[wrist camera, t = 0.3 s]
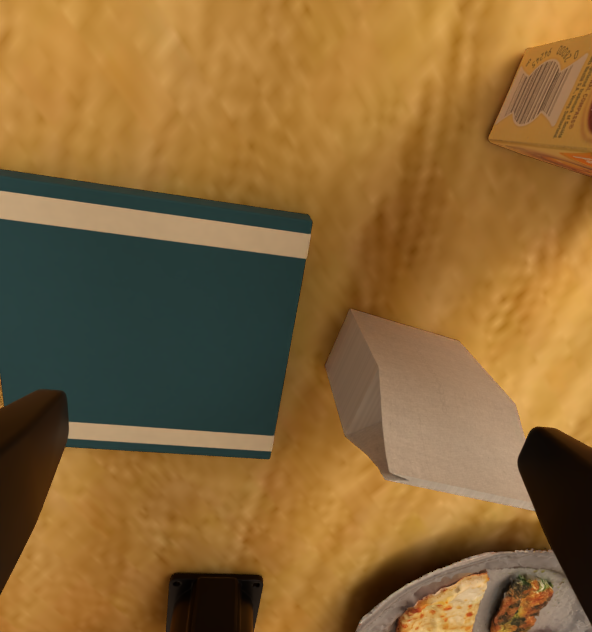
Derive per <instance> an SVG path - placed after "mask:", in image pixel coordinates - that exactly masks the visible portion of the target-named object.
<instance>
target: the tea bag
mask: <svg viewBox="0 0 592 632" xmlns="http://www.w3.org/2000/svg"><path fill="white" fill-rule="evenodd" d="M325 368H326V371H327V375H328V378H329V382H330V385H331V389H332V392H333V396H334V399H335V403H336V406H337V410H338V413H339V417H340V420H341V424H342V427H343V431H344V435H345V437H347V438H348V439H349V440H350V441H351V442H352V443H354V444H355V445H356V446H357V447H358V448H360V449H361V450H362V451H363V452H364V453H365V454H367V455H368V457H369V458H370V459H371V460H372V461H373V462H374V463H375V465H376V466H377V467H378V468H379V470H380V472H381V474H382V475H383V477H384V479H385V480H388V481H393V482H398V483H403V484H408V485H412V486H417V487H422V488H427V489H432V490H436V491H441V492H446V493H451V494H456V495H460V496H465V497H470V498H475V499H480V500H484V501H489V502H494V503H499V504H504V505H509V506H513V507H518V508H523V509H528V510H533V511H535V509H534V507H533V504H532V502H531V499H530V497H529V495H528V492H527V490H526V487H525V485H524V482H523V480H522V478H521V475H520V473H519V470H518V466H517V460H518V456H519V454H520V451H521V449H522V447H523V445H524V443H525V441H526V440H525V436H524V433H523V429H522V426H521V422H520V418H519V415H518V411H517V408H516V404H515V403H514V402H513V401H512V400H511V399H510V398H509V396H508V395H507V394H506V393H505V392H504V391H503V390H502V389H501V387H500V386H499V385H498V384H497V383H496V382H495V381H494V380H493V378H492V377H491V376H490V375H489V374H488V373H487V372H486V371H485V370H484V368H483V367H482V366H481V365H480V364H479V363H478V362H477V361H476V359H475V358H474V357H473V356H472V355H471V354H470V353H469V352H468V350H467V349H466V348H465V347H464V346H463V345H462V344H461V343H460V341H458V340H454V339H451V338H448V337H444V336H441V335H437V334H434V333H431V332H427V331H424V330H421V329H417V328H414V327H411V326H407V325H404V324H401V323H397V322H394V321H390V320H387V319H384V318H380V317H377V316H374V315H370V314H367V313H364V312H360V311H357V310H354V309H349V311H348V314H347V316H346V318H345V321H344V323H343V325H342V327H341V330H340V332H339V334H338V337H337V339H336V341H335V344H334V346H333V348H332V350H331V353H330V355H329V357H328V360H327V362H326V364H325Z"/></svg>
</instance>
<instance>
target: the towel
mask: <svg viewBox="0 0 592 632" xmlns="http://www.w3.org/2000/svg"><path fill="white" fill-rule="evenodd" d="M312 223H313V222H312V220H311V218H310V216H309V215H308V214H301V213H294V212H287V211H280V210H274V209H267V208H260V207H253V206H247V205H240V204H233V203H226V202H219V201H213V200H206V199H199V198H192V197H185V196H179V195H172V194H165V193H158V192H151V191H145V190H138V189H131V188H124V187H117V186H111V185H104V184H97V183H90V182H84V181H77V180H70V179H63V178H56V177H50V176H43V175H36V174H29V173H22V172H16V171H9V170H2V169H0V377H1V385H2V393H3V400H4V407H5V406H7V405H9V404H11V403H12V402H14V401H16V400H18V399H20V398H22V397H24V396H26V395H28V394H30V393H32V392H34V391H36V390H39V389H51V390H62V391H64V392H65V393H66V396H67V403H68V419H69V434H68V439H67V443H66V446H65V447H76V448H93V449H109V450H125V451H142V452H158V453H174V454H191V455H207V456H223V457H240V458H256V459H270V456H271V451H272V447H273V442H274V436H275V435H274V434H275V428H276V423H277V417H278V412H279V406H280V401H281V395H282V389H283V384H284V378H285V373H286V367H287V362H288V356H289V351H290V345H291V340H292V334H293V329H294V323H295V317H296V312H297V306H298V301H299V295H300V290H301V284H302V279H303V273H304V268H305V262H306V259H307V255H308V249H309V244H310V238H311V229H312Z"/></svg>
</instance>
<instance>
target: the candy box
mask: <svg viewBox="0 0 592 632" xmlns="http://www.w3.org/2000/svg"><path fill="white" fill-rule="evenodd" d="M488 140H489V142H491V143H493V144H496V145H499V146H501V147H504V148H507V149H509V150H512V151H515V152H518V153H520V154H523V155H526V156H529V157H532V158H535V159H538V160H541V161H544V162H547V163H550V164H553V165H556V166H559V167H562V168H566V169H569V170H572V171H575V172H578V173H581V174H584V175H587V176H590V177H592V34H587V35H584V36H580V37H575V38H571V39H567V40H562V41H558V42H554V43H550V44H545V45H541V46H537V47H533V48H528V49H526V51H525V54H524V56H523V58H522V61H521V63H520V65H519V68H518V70H517V72H516V75H515V77H514V80H513V82H512V84H511V86H510V89H509V91H508V94H507V96H506V98H505V101H504V103H503V106H502V108H501V110H500V112H499V115H498V117H497V119H496V121H495V123H494V126H493V128H492V130H491V133H490V135H489V137H488Z"/></svg>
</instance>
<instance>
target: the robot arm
mask: <svg viewBox="0 0 592 632" xmlns="http://www.w3.org/2000/svg"><path fill="white" fill-rule="evenodd" d="M68 434H69V419H68V403H67V396H66V393H65V392H64V391H62V390H51V389H39V390H36V391H34V392H32V393H30V394H28V395H26V396H24V397H22V398H20V399H18V400H16V401H14V402H12V403H11V404H9V405H7V406H5V407H3V408H1V409H0V594H1V592H2V590H3V588H4V587H5V585H6V583H7V581H8V579H9V577H10V575H11V573H12V571H13V569H14V567H15V565H16V563H17V561H18V559H19V557H20V555H21V553H22V551H23V549H24V547H25V545H26V543H27V541H28V539H29V537H30V535H31V533H32V531H33V529H34V527H35V525H36V522H37V520H38V517H39V515H40V512H41V510H42V507H43V504H44V502H45V499H46V496H47V494H48V491H49V488H50V486H51V483H52V480H53V478H54V475H55V472H56V470H57V467H58V464H59V462H60V459H61V456H62V454H63V451H64V448H65V446H66V443H67V439H68ZM517 466H518V470H519V473H520V475H521V478H522V480H523V482H524V485H525V487H526V490H527V492H528V495H529V497H530V499H531V502H532V504H533V507H534V509H535V512H536V514H537V517H538V519H539V521H540V524H541V526H542V529H543V531H544V533H545V536H546V538H547V540H548V542H549V544H550V546H551V548H552V550H553V552H554V554H555V556H556V558H557V560H558V562H559V564H560V566H561V568H562V570H563V572H564V574H565V576H566V578H567V580H568V581H569V583H570V585H571V587H572V589H573V591H574V593H575V595H576V597H577V599H578V601H579V603H580V605H581V607H582V608H583V610H584V612H585V614H586V616H587V618H588V620H589V622H590V624H591V626H592V448H591V447H589V446H587V445H585V444H584V443H582V442H580V441H578V440H576V439H574V438H573V437H571V436H569V435H567V434H565V433H563V432H561V431H560V430H558V429H555V428H549V427H535V428H533V429H532V430H531V431H530V432H529V434H528V436H527V439H526V441H525V443H524V445H523V447H522V449H521V451H520V454H519V456H518V460H517ZM262 588H263V578H262V577H261V576H259V575H227V574H181V573H178V574H173V575H172V576H171V578H170V583H169V596H168V610H167V624H166V632H254V628H255V623H256V618H257V613H258V608H259V603H260V598H261V593H262Z"/></svg>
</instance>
